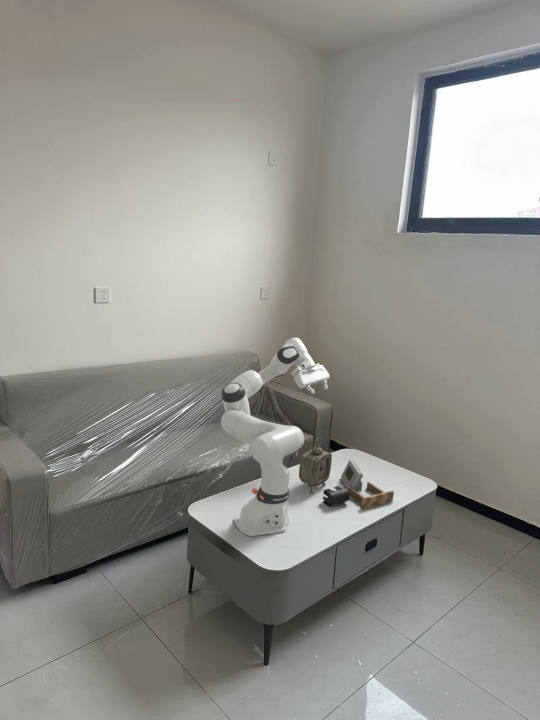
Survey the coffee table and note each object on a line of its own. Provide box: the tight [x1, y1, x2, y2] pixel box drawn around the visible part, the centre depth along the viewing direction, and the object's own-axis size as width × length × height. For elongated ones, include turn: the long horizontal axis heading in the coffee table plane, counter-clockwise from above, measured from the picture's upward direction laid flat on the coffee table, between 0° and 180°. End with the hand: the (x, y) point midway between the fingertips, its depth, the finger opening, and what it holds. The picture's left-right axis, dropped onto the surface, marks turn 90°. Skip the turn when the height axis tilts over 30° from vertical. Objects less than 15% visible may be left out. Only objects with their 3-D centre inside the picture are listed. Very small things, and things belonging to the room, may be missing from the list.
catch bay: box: [346, 481, 395, 510], centre depth 228 cm, size 18×14×5 cm
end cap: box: [322, 485, 351, 508], centre depth 221 cm, size 10×7×7 cm
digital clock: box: [340, 459, 364, 492], centre depth 237 cm, size 16×9×11 cm, turn 177°
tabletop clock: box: [298, 437, 333, 495], centre depth 231 cm, size 14×9×25 cm, turn 143°
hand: (320, 391), depth 244 cm, fingers open, 8 cm apart
